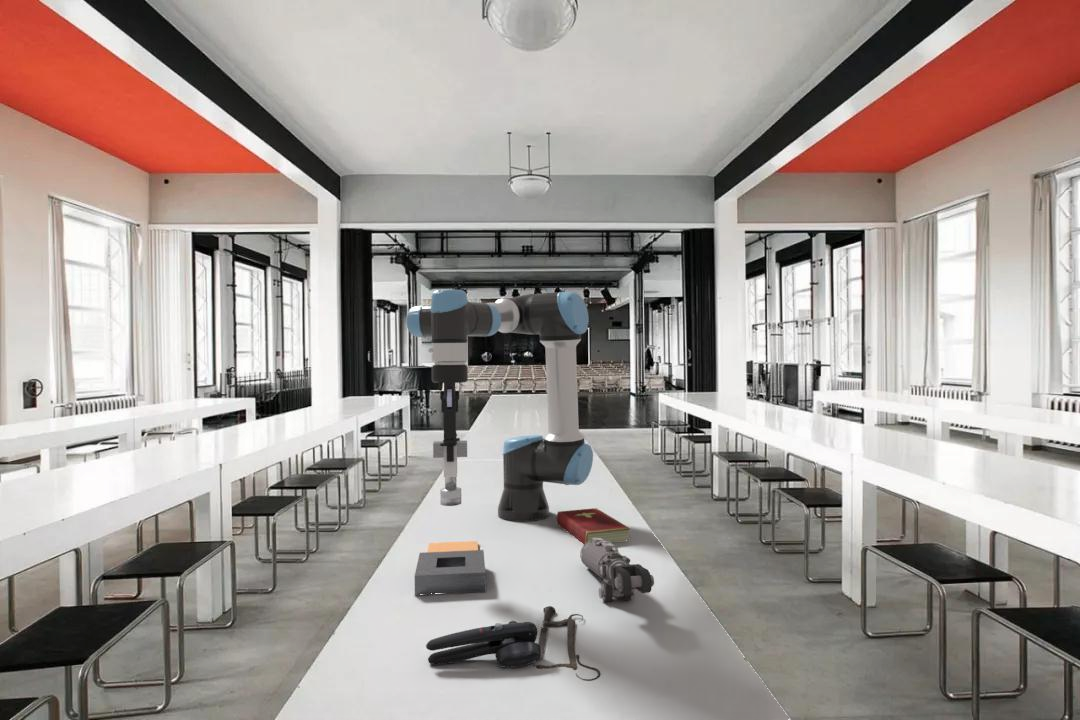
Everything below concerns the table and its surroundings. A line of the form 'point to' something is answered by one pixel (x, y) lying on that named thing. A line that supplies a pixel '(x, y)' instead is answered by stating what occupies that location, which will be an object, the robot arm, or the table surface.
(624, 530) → the hardcover book
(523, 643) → the can opener
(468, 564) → the block
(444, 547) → the key mat
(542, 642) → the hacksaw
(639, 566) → the hydraulic cylinder
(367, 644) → the table surface
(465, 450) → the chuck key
